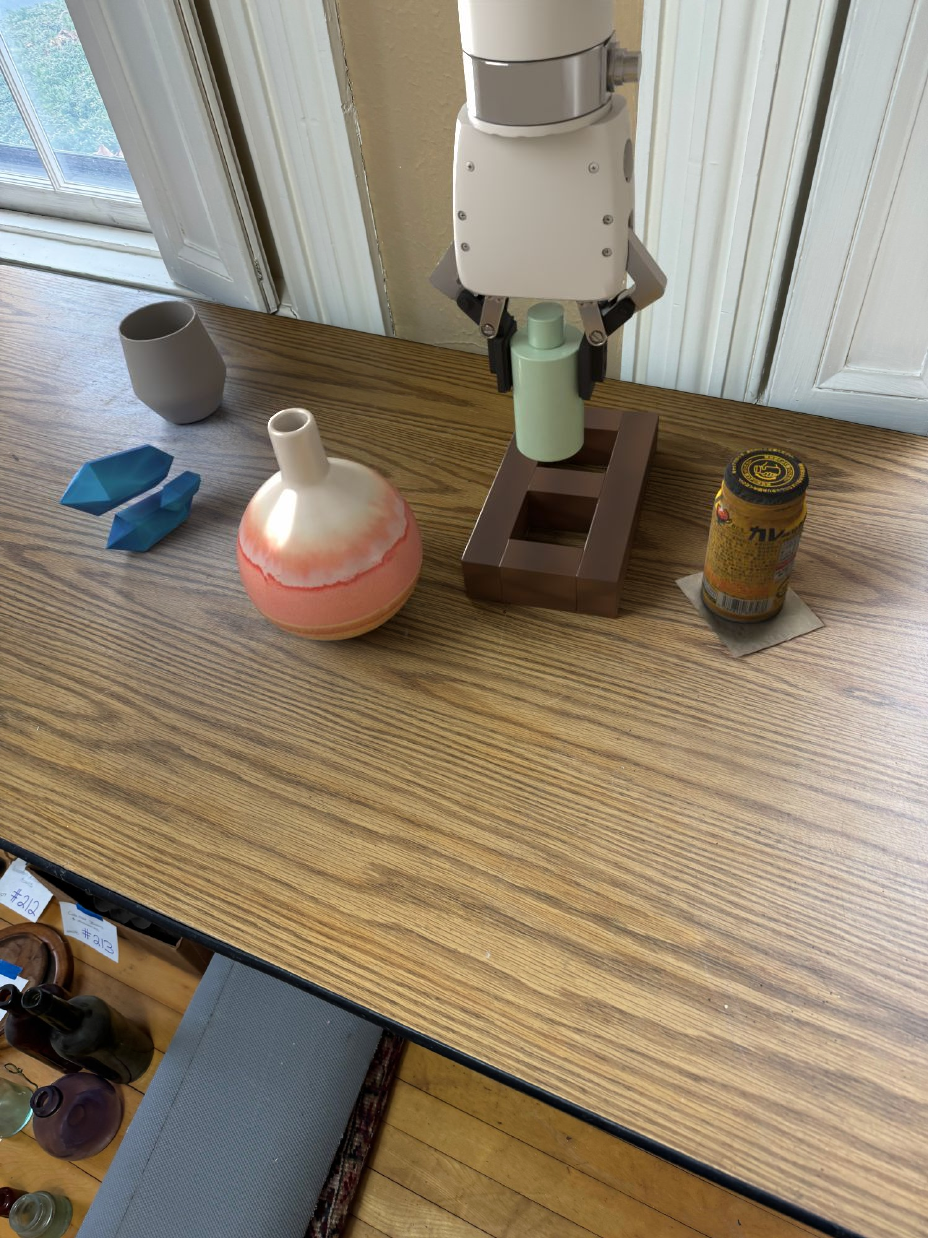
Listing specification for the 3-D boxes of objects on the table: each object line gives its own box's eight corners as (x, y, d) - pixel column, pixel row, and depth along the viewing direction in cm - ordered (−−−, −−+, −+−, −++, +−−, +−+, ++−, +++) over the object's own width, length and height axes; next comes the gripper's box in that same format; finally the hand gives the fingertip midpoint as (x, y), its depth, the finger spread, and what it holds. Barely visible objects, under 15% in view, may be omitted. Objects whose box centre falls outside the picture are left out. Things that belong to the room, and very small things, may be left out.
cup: (248, 382, 92) (219, 294, 84) (220, 435, 85) (185, 345, 78) (167, 383, 93) (130, 296, 86) (133, 435, 87) (91, 347, 80)
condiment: (757, 553, 67) (783, 426, 58) (824, 627, 61) (864, 499, 53) (674, 582, 66) (688, 458, 57) (734, 660, 60) (760, 536, 51)
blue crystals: (211, 443, 73) (83, 495, 65) (225, 529, 78) (108, 586, 71) (158, 416, 76) (31, 463, 69) (175, 501, 82) (59, 553, 74)
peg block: (656, 450, 77) (659, 412, 74) (615, 619, 64) (617, 582, 61) (528, 438, 80) (526, 401, 77) (466, 596, 67) (460, 560, 64)
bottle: (590, 423, 62) (591, 293, 54) (576, 465, 59) (575, 333, 51) (525, 417, 63) (517, 289, 56) (509, 458, 60) (498, 328, 53)
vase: (465, 578, 69) (436, 389, 55) (362, 699, 62) (301, 516, 48) (335, 526, 74) (281, 344, 61) (227, 632, 67) (140, 452, 54)
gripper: (716, 51, 44) (684, 363, 58) (407, 58, 48) (445, 346, 62) (699, 105, 39) (668, 430, 53) (359, 107, 44) (412, 406, 57)
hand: (548, 382), depth 57 cm, fingers closed on bottle, 4 cm apart
